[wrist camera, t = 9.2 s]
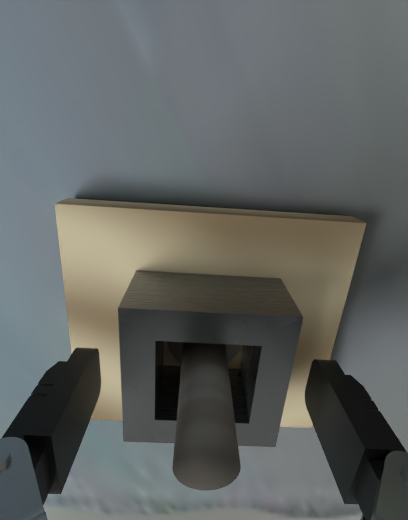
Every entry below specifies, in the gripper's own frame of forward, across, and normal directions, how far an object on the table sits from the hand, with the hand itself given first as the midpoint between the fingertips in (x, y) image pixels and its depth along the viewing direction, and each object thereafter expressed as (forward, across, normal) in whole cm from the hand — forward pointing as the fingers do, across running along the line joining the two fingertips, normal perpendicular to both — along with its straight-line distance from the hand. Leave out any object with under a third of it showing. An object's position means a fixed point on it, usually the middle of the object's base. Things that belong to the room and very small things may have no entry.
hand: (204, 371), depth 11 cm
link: (+2, 0, 0) cm, 2 cm away
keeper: (+4, 0, 0) cm, 4 cm away
